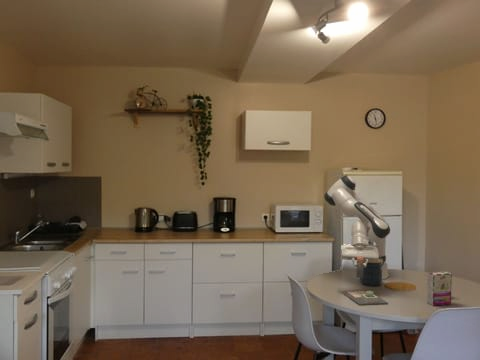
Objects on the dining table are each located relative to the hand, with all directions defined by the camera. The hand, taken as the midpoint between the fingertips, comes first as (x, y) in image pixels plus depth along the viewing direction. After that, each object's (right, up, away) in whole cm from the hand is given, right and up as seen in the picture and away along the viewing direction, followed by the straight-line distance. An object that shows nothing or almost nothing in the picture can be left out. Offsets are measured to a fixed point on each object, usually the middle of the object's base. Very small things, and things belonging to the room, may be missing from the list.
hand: (360, 266), depth 236 cm
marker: (0, -6, +1) cm, 6 cm away
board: (+1, -17, -3) cm, 17 cm away
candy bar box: (+38, -18, -11) cm, 43 cm away
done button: (+2, -14, -10) cm, 17 cm away
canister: (+14, -16, +26) cm, 34 cm away
